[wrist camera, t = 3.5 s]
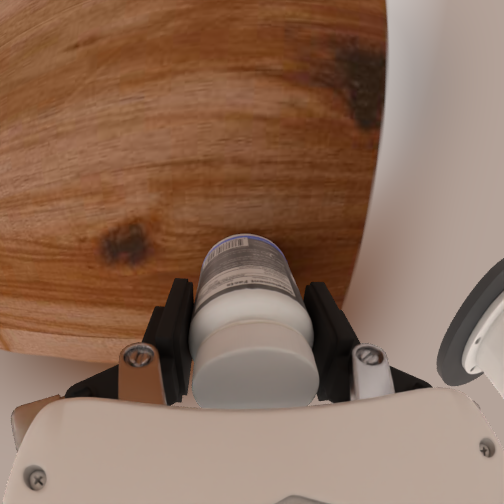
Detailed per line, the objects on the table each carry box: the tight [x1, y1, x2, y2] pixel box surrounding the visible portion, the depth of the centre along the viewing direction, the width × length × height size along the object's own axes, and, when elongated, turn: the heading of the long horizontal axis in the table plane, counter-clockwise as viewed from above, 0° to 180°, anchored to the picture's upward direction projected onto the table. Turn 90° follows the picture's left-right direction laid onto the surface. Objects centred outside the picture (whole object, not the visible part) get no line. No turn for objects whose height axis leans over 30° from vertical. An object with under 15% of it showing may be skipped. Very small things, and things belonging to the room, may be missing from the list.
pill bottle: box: [188, 234, 319, 409], centre depth 12 cm, size 5×5×8 cm
